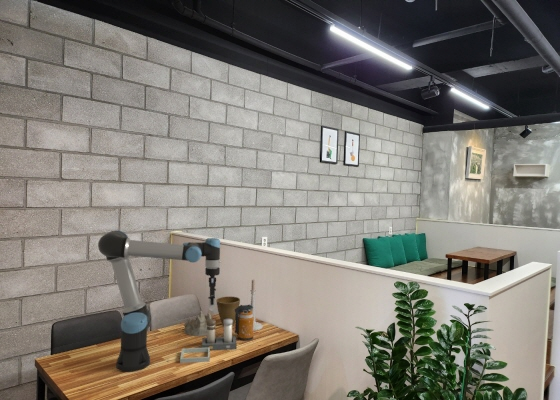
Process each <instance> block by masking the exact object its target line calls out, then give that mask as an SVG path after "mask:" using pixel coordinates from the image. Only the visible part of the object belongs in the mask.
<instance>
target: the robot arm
mask: <svg viewBox="0 0 560 400" xmlns="http://www.w3.org/2000/svg"><path fill="white" fill-rule="evenodd" d="M220 242H221V240H220V238H216V237H209V238H206V239H205V241H204V242H203V241H202V242H201V241H200V242H199V241H198V242H196V241H195V242H193V241H192V242H190V241H188V242H184V243H183V244H179V243H177V244H176V243H167V242H157V241H156V242H155V241H146V240H145V241H144V240H135V239H134V240H133V239H130V237H129V236H128V234H126V233H125V232H124V231H122V230H111V231H109V232H107V233H105V234H104V235H102V236H101V237H100V239H99V240H98V243H97V248H98V251H99V253H101V254H102V255H103V256H104V257H105V258H106V261H107V262H109V263H111V266H112V270H113V272H114V276H115V280H116V283H117V286H118V290H119V293H120V296H121V300H122V304H123V306H124V308H123V310H121V311H122V315H123V316H122V319H121V321H120V351H119V354H118V357H117V360H116V366H115V367H116V369H117V370H118V371H120V372H124V373H126V372H127V373H129V372H132V373H133V372H138V371H141V370H144V369H146V368H147V367H149V366H150V364H151V356H150V353H149V349H148V348H147V347H148V346H147V342H148V337H147V336H148V330H149V327H150V324H151V322H152V314H151V312H150V310H149V309H148V307H147V304H146V302H144V301H143V300H142V297H141V294H140V291H139V287H138V284H137V280H136V276H135V273H134V271H133V267H132V263H131V259H130V257H139V258H152V259H154V258H155V259H164V260H165V259H166V260H177V261H187V262H190V263H197V262H198V261H199V260H200V259H201V258H202V257H205V266H204V267H205V271H204V272H205V276H208V287H209V296H208V298H207V299H208V300H209V312H213V311H214V312H215V310H216V307H215V305H216V297H215V296H216V295H215V294H216V291H217V288H216V284H217V277H215V276H219V275H220V265H221V263H222V261H221V259H220V258H221V243H220Z"/></svg>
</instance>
